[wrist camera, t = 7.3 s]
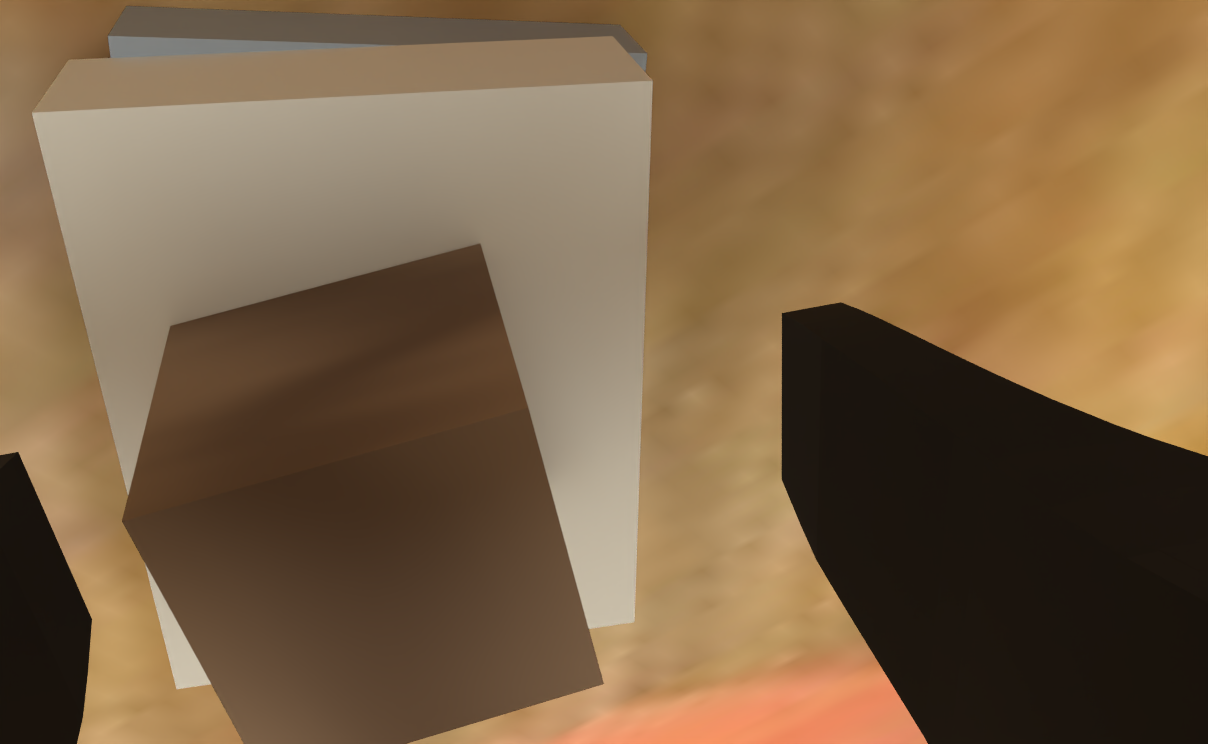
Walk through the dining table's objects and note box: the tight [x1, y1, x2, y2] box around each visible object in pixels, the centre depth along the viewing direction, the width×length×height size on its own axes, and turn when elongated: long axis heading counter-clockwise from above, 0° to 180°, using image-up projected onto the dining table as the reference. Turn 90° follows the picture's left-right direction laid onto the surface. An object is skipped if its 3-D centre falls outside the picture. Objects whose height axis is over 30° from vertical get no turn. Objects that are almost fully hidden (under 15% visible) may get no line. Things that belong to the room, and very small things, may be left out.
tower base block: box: [108, 6, 647, 71], centre depth 21 cm, size 8×10×2 cm
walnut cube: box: [122, 244, 604, 744], centre depth 15 cm, size 4×4×4 cm
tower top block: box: [32, 36, 653, 689], centre depth 18 cm, size 8×10×2 cm
